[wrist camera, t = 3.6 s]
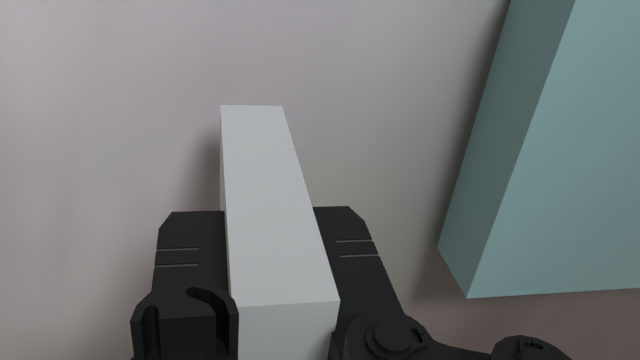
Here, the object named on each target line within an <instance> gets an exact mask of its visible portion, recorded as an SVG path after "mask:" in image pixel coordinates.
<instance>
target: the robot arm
mask: <svg viewBox="0 0 640 360" xmlns="http://www.w3.org/2000/svg"><path fill="white" fill-rule="evenodd" d="M130 326H131V334H132V342H133V349H134V356H133V357H132V358H131V360H572V359H570V358H569V357H568V356H567V355H565V354H564V353H563V352H562V351H560V350H559V349H558V348H556V347H555V346H553V345H551V344H549V343H547V342H544V341H542V340H540V339H538V338H533V337H528V336H523V335H518V336H510V337H505V338H504V339H502V340H501V341H499V342H498V343H496V344H495V346H494V349H493V351H492V353H491V354H486V353H481V352H476V351H471V350H466V349H461V348H456V347H452V346H448V345H445V344H441V343H439V342H437V341H435V340H433V339H432V337H431V336H430V335H429V333H428V332H427V330H426V329H425V327H424V326H422V325H421V324H420V323H418V322H417V321H416V320H414V319H413V318H411V317H410V316H407V315H405V314H404V312H403V310H402V308H401V305H400V303H399V301H398V298H397V296H396V294H395V291H394V289H393V287H392V284H391V282H390V280H389V277H388V275H387V273H386V270H385V268H384V266H383V263H382V261H381V259H380V256H379V257H378V252H377V249H376V247H375V245H374V242H372V238H371V235H370V233H369V231H368V228H367V226H366V224H365V221H364V220H363V219H362V218H361V217H359V216H358V215H357V214H356V213H355V212H354V211H353V210H352V209H351V208H350V207H349V206H336V207H312V205H311V201H310V198H309V195H308V191H307V188H306V185H305V181H304V178H303V175H302V171H301V168H300V165H299V161H298V158H297V155H296V151H295V148H294V145H293V141H292V138H291V135H290V131H289V128H288V125H287V121H286V118H285V115H284V111H283V108H282V106H249V105H220V211H193V212H172V213H171V214H170V215H169V217H168V218H167V219H166V220H165V222H164V223H163V224H162V226H161V227H160V228H159V232H158V240H157V252H156V257H155V269H154V274H153V282H152V290H151V292H150V293H149V294H148V295H147V296H146V297H145V298H144V299H143V300H142V301H141V302H140V303H139V304H138V305H137V306H136V308H135V310H134V313H133V315H132V317H131V320H130Z"/></svg>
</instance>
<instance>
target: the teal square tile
mask: <svg viewBox="0 0 640 360" xmlns="http://www.w3.org/2000/svg"><path fill="white" fill-rule="evenodd" d="M437 248H438V250H439V252H440V254H441V255H442V257H443V259H444V261H445V262H446V264H447V266H448V268H449V269H450V271H451V273H452V275H453V276H454V278H455V280H456V281H457V283H458V285H459V287H460V288H461V290H462V292H463V294H464V295H465V297H466V299H468V298H484V297H500V296H516V295H532V294H548V293H564V292H580V291H596V290H612V289H628V288H640V0H511V2H510V5H509V8H508V12H507V15H506V18H505V22H504V25H503V28H502V32H501V35H500V38H499V42H498V45H497V48H496V52H495V55H494V58H493V62H492V65H491V68H490V72H489V75H488V78H487V82H486V85H485V88H484V92H483V95H482V98H481V102H480V105H479V108H478V112H477V115H476V118H475V122H474V125H473V128H472V132H471V135H470V138H469V142H468V145H467V148H466V152H465V155H464V158H463V162H462V165H461V168H460V172H459V175H458V178H457V182H456V185H455V188H454V192H453V195H452V199H451V202H450V205H449V209H448V212H447V215H446V219H445V222H444V225H443V229H442V232H441V235H440V239H439V242H438V245H437Z"/></svg>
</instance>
